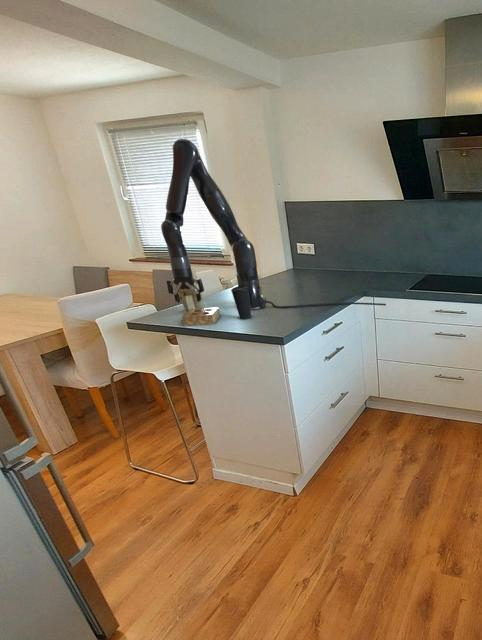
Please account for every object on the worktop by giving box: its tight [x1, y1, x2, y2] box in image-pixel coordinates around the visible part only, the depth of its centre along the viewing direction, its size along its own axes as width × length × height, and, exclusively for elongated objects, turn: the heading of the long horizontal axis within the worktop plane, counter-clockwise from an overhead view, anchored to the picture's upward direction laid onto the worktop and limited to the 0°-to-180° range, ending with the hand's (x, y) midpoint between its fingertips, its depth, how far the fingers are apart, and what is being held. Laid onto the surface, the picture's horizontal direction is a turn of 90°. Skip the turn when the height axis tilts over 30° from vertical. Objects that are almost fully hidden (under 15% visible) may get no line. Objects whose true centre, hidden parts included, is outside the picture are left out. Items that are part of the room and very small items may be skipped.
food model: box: [178, 268, 205, 311], centre depth 183 cm, size 10×7×20 cm
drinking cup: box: [230, 273, 252, 320], centre depth 171 cm, size 8×8×20 cm
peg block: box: [181, 307, 221, 327], centre depth 171 cm, size 12×12×4 cm
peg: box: [185, 295, 195, 311], centre depth 178 cm, size 2×2×9 cm
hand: (189, 301), depth 177 cm, fingers open, 8 cm apart
